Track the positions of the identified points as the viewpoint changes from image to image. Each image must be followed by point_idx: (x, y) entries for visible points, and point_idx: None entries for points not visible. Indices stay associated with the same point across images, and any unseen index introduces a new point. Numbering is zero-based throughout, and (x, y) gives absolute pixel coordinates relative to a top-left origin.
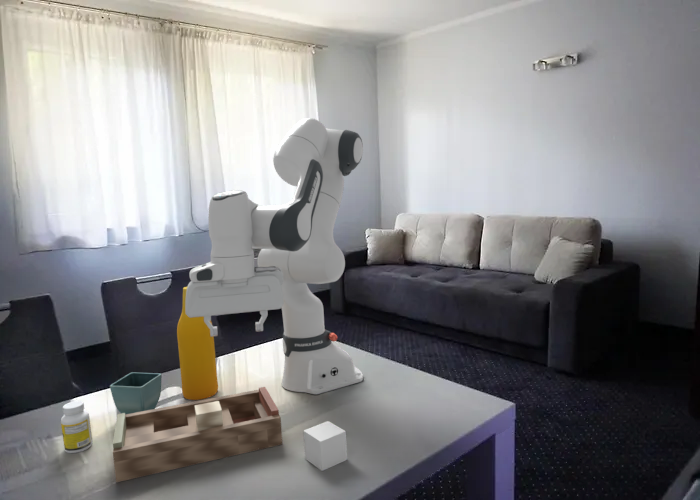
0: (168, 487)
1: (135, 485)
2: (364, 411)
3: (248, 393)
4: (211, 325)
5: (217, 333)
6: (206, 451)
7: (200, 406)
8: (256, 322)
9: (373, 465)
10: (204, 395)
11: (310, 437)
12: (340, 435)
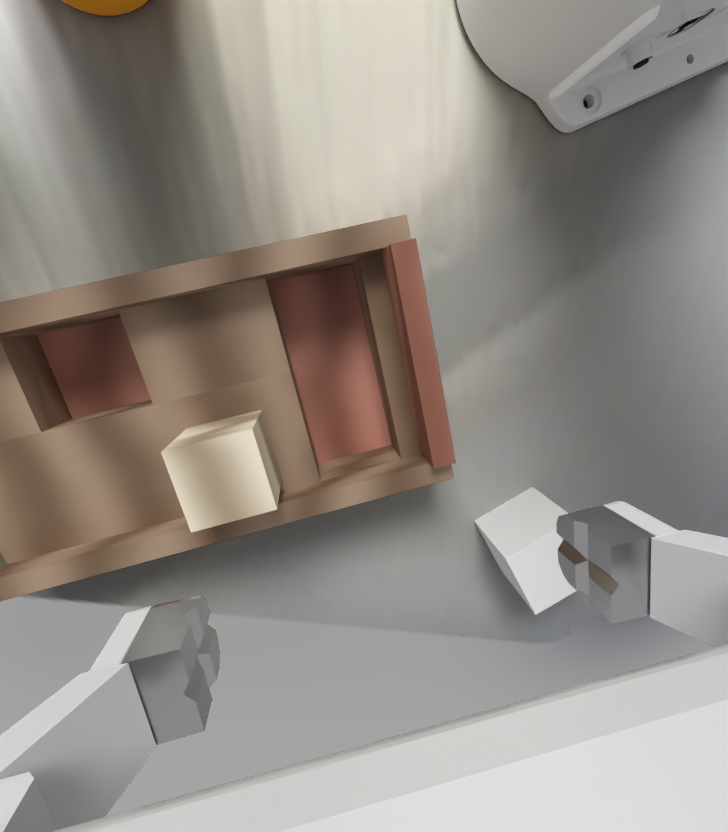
0: (177, 588)
1: None
2: (661, 311)
3: (346, 251)
4: (118, 771)
5: (215, 678)
6: None
7: (188, 465)
8: (622, 558)
9: None
10: (124, 6)
11: (515, 579)
12: None
